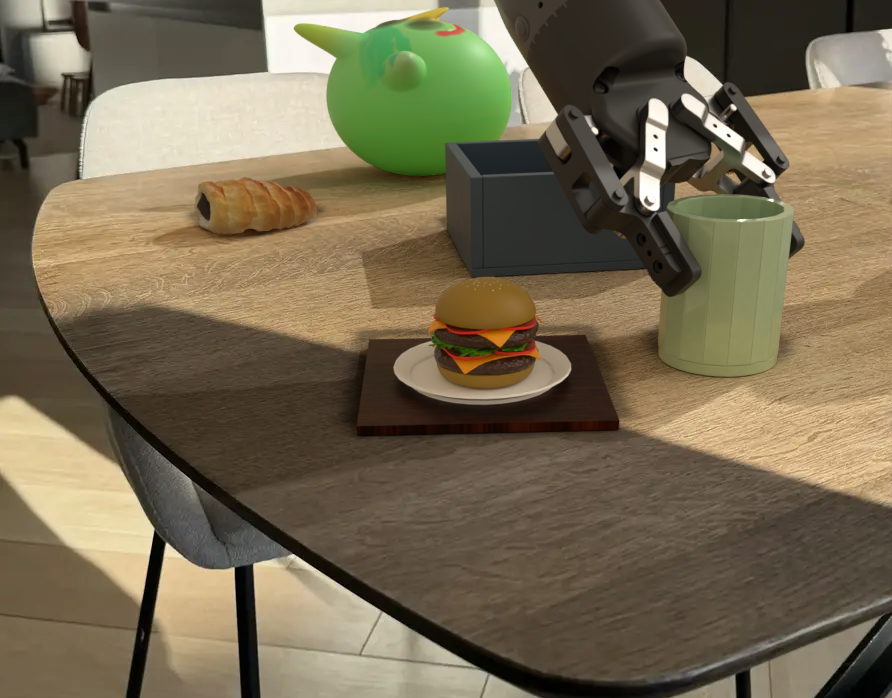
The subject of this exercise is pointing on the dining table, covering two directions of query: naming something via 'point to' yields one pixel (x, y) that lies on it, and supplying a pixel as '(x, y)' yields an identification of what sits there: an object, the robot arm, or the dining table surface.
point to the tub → (728, 285)
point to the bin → (523, 214)
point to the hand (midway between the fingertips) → (740, 271)
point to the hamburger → (483, 372)
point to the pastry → (251, 206)
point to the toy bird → (412, 90)
